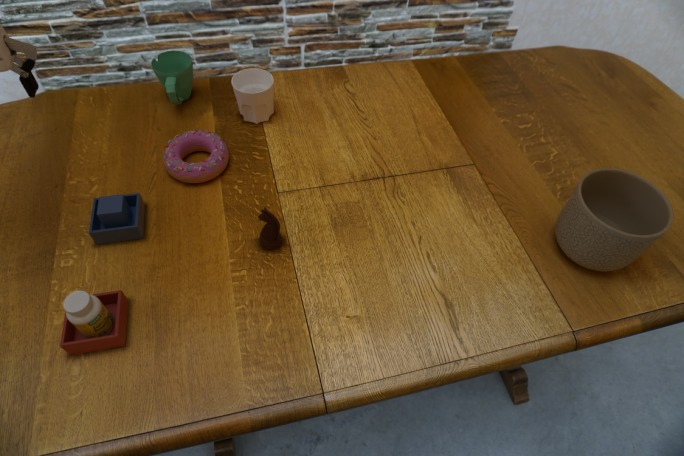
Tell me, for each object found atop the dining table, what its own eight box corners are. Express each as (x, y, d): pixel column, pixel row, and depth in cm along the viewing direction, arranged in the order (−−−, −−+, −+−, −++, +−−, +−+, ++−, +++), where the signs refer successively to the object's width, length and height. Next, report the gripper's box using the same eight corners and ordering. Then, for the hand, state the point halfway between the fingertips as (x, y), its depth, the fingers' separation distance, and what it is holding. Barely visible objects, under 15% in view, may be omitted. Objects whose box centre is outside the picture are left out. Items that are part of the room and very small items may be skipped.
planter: (551, 275, 93) (587, 230, 80) (541, 211, 103) (571, 162, 90) (637, 287, 92) (686, 243, 80) (618, 221, 102) (659, 173, 90)
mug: (163, 84, 124) (152, 51, 116) (200, 82, 125) (192, 49, 117) (159, 120, 115) (147, 87, 107) (199, 118, 116) (190, 84, 108)
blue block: (107, 233, 94) (96, 214, 89) (109, 215, 96) (98, 196, 91) (131, 229, 94) (121, 211, 89) (132, 212, 97) (123, 193, 92)
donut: (238, 175, 105) (235, 159, 101) (176, 195, 101) (170, 179, 97) (218, 136, 113) (215, 120, 109) (160, 153, 108) (154, 137, 104)
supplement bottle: (94, 309, 83) (72, 282, 76) (121, 317, 83) (101, 290, 75) (76, 336, 80) (51, 310, 73) (103, 344, 80) (81, 320, 72)
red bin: (70, 355, 79) (59, 346, 75) (76, 308, 84) (67, 298, 81) (125, 345, 80) (117, 336, 77) (128, 300, 85) (121, 289, 82)
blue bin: (96, 244, 92) (88, 233, 89) (100, 210, 97) (93, 198, 94) (143, 238, 94) (137, 226, 90) (145, 204, 99) (139, 192, 96)
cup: (247, 97, 122) (242, 64, 114) (282, 106, 121) (279, 73, 113) (230, 120, 116) (224, 87, 108) (267, 130, 115) (263, 97, 107)
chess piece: (268, 229, 96) (264, 198, 88) (288, 240, 95) (285, 209, 87) (254, 244, 94) (249, 213, 86) (274, 255, 93) (270, 225, 85)
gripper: (-140, 10, 62) (-60, 112, 76) (1, 6, 65) (53, 105, 79) (-118, -16, 67) (-46, 84, 80) (13, -19, 69) (61, 78, 83)
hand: (3, 94), depth 79 cm, fingers open, 9 cm apart
